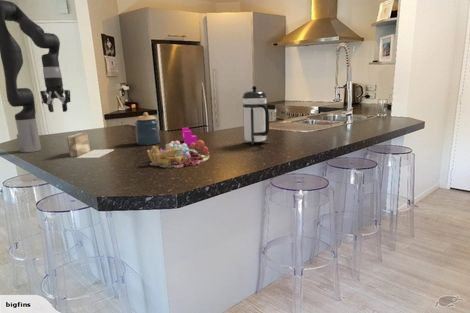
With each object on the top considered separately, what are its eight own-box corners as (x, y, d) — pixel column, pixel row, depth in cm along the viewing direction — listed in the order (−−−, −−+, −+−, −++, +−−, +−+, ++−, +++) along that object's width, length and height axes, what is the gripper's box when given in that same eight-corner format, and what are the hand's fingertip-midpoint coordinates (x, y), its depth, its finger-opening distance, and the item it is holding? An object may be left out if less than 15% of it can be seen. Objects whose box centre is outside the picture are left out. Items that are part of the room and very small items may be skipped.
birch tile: (70, 157, 162) (66, 136, 160) (82, 151, 174) (79, 132, 172) (77, 156, 162) (74, 136, 160) (90, 151, 174) (87, 132, 171)
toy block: (196, 144, 182) (196, 131, 180) (185, 145, 180) (184, 131, 179) (193, 139, 196) (192, 127, 194) (183, 140, 195) (182, 128, 193)
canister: (164, 141, 192) (162, 111, 188) (148, 146, 181) (144, 113, 177) (149, 140, 199) (146, 110, 195) (131, 144, 188) (128, 113, 184)
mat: (75, 158, 159) (75, 157, 159) (94, 150, 176) (94, 149, 176) (98, 158, 158) (98, 157, 158) (114, 149, 175) (114, 149, 175)
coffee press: (237, 145, 174) (234, 86, 168) (247, 139, 189) (245, 85, 182) (268, 146, 168) (268, 86, 161) (277, 140, 182) (276, 84, 175)
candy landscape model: (189, 171, 131) (187, 148, 129) (139, 168, 139) (136, 146, 137) (214, 156, 153) (213, 136, 151) (170, 154, 162) (168, 135, 159)
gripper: (33, 77, 157) (39, 113, 161) (62, 76, 156) (68, 112, 160) (43, 77, 164) (49, 111, 168) (71, 76, 163) (76, 110, 167)
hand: (58, 111), depth 164 cm, fingers open, 6 cm apart
